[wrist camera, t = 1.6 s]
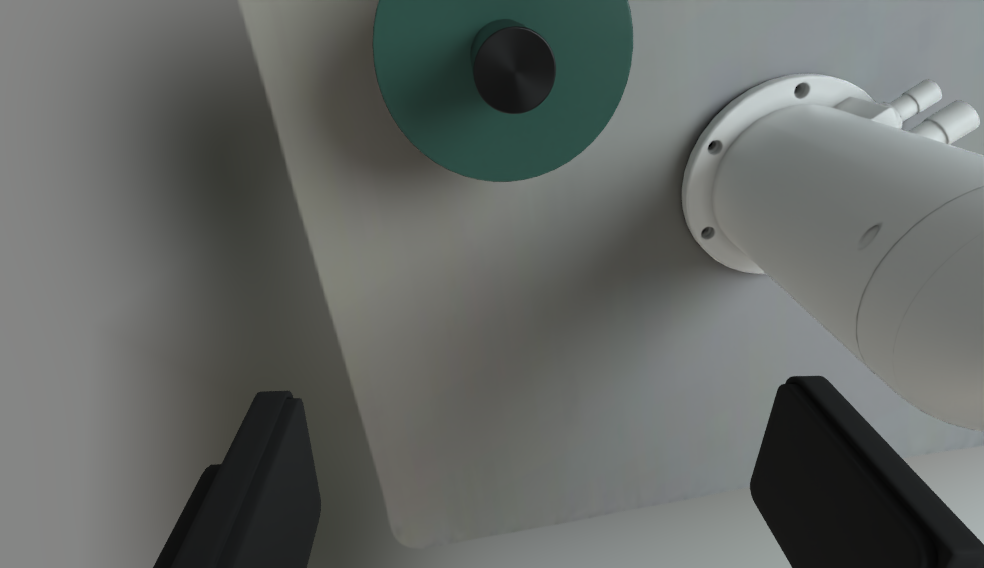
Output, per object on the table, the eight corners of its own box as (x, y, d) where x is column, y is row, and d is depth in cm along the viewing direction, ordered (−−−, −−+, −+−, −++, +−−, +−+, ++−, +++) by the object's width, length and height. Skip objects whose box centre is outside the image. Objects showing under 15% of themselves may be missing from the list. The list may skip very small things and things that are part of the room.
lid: (465, -164, 23) (468, -219, 17) (678, 16, 26) (742, 24, 20) (331, 89, 27) (294, 117, 21) (529, 216, 30) (547, 272, 24)
